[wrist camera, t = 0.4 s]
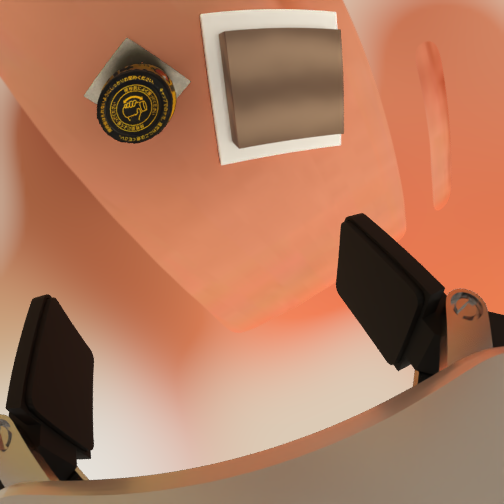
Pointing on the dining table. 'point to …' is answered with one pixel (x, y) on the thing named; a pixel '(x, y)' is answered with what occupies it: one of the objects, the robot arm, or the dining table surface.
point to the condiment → (135, 94)
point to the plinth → (282, 84)
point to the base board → (210, 33)
